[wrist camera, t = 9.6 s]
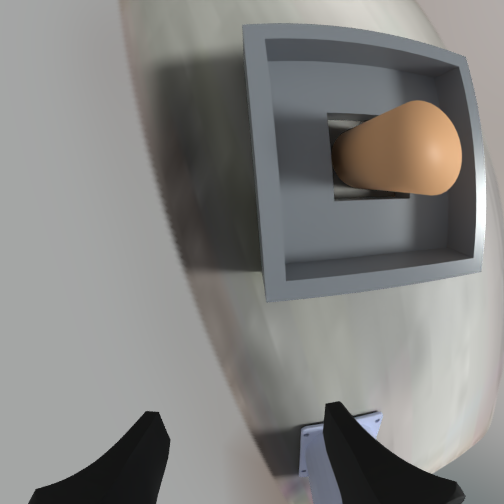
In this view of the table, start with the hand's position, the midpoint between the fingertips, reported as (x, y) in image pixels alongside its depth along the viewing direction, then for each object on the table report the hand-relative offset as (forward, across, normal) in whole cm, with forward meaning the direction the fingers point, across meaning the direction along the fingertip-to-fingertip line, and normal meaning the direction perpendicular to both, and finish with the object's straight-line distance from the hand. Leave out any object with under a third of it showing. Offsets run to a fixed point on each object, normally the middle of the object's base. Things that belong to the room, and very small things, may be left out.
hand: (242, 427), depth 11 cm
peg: (+9, -8, -11) cm, 17 cm away
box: (+9, -8, -11) cm, 17 cm away
